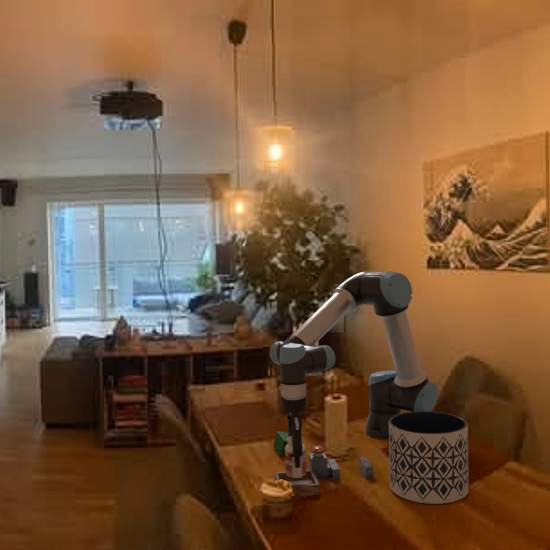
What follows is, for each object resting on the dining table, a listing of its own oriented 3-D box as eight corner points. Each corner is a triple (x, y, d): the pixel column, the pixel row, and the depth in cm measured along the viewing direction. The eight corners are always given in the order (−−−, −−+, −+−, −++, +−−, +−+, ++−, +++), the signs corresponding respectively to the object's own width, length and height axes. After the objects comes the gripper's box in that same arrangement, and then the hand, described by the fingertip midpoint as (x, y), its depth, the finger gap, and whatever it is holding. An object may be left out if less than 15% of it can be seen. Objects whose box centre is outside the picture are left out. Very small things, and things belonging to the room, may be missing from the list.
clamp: (293, 466, 221) (301, 446, 218) (277, 464, 220) (284, 444, 216) (288, 443, 232) (295, 423, 228) (272, 441, 230) (279, 421, 227)
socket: (366, 467, 206) (366, 447, 206) (373, 478, 197) (372, 457, 197) (308, 471, 204) (307, 451, 204) (312, 482, 195) (312, 461, 195)
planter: (456, 512, 172) (454, 438, 170) (378, 496, 183) (376, 427, 182) (477, 483, 190) (476, 416, 189) (405, 470, 202) (404, 407, 201)
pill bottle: (281, 475, 191) (280, 438, 190) (294, 469, 195) (293, 433, 195) (297, 479, 187) (296, 442, 186) (310, 473, 191) (309, 437, 191)
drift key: (323, 467, 202) (322, 445, 202) (325, 472, 198) (325, 449, 198) (311, 468, 202) (310, 445, 201) (313, 473, 198) (312, 450, 197)
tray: (313, 479, 198) (312, 469, 198) (319, 494, 186) (319, 484, 186) (274, 481, 197) (274, 472, 196) (278, 497, 185) (278, 487, 185)
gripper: (277, 389, 199) (280, 462, 200) (284, 406, 180) (287, 486, 181) (301, 388, 199) (303, 461, 201) (311, 404, 180) (313, 484, 182)
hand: (295, 472), depth 191 cm, fingers closed on pill bottle, 6 cm apart
